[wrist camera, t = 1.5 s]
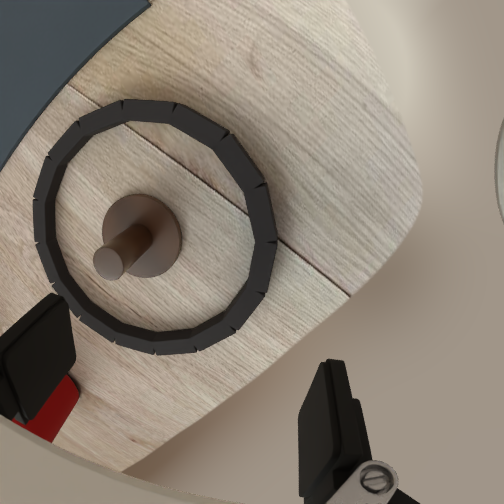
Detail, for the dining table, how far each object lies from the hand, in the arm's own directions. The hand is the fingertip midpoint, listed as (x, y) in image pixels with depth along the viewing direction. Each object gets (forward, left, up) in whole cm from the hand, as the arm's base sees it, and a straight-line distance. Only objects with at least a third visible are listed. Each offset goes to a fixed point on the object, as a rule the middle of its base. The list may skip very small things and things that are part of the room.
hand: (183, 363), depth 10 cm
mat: (+9, -32, -15) cm, 37 cm away
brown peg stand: (+7, -4, -15) cm, 17 cm away
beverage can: (+31, +3, -15) cm, 34 cm away
